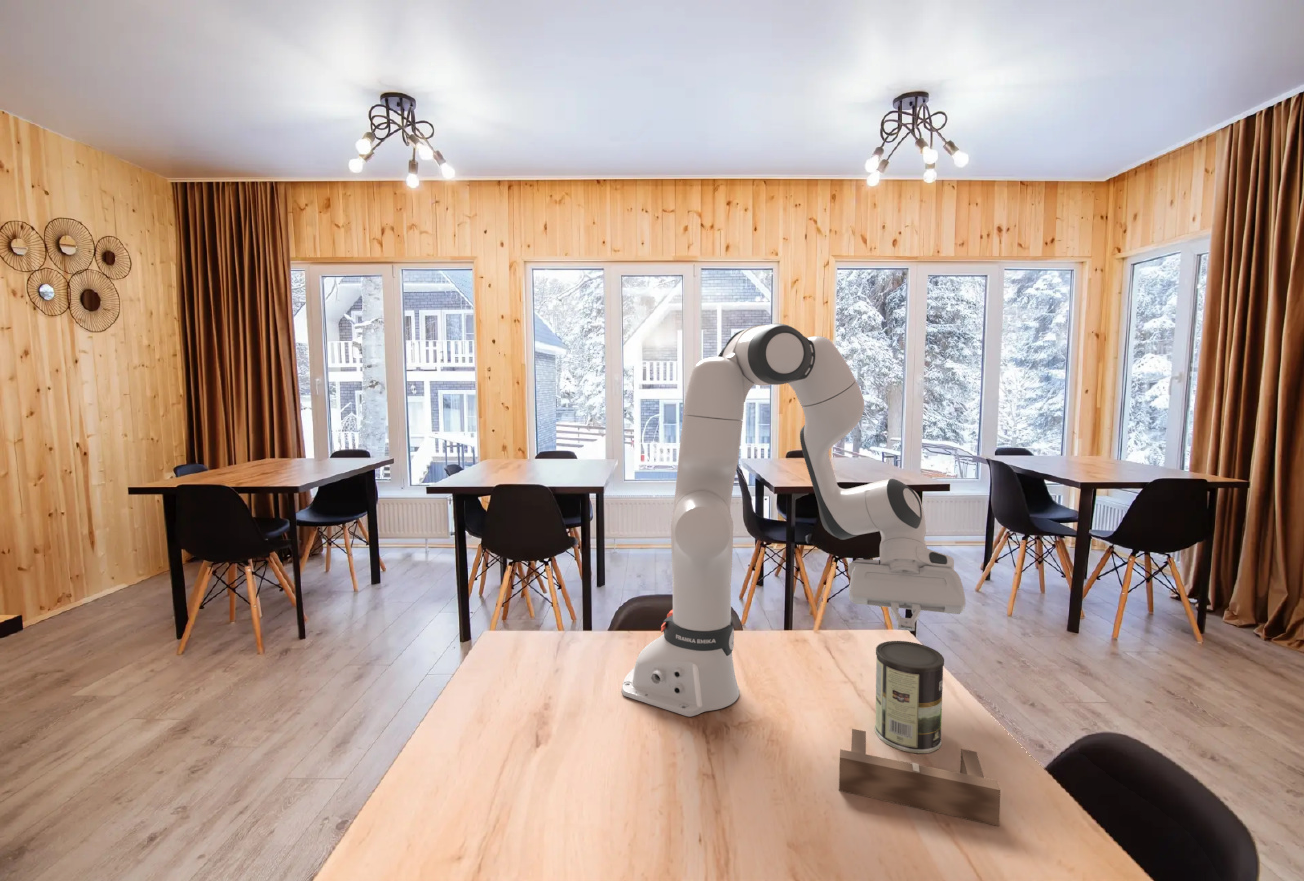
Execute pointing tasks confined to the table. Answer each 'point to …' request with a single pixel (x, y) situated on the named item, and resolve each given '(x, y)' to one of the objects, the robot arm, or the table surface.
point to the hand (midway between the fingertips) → (906, 629)
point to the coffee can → (909, 696)
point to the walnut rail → (921, 783)
